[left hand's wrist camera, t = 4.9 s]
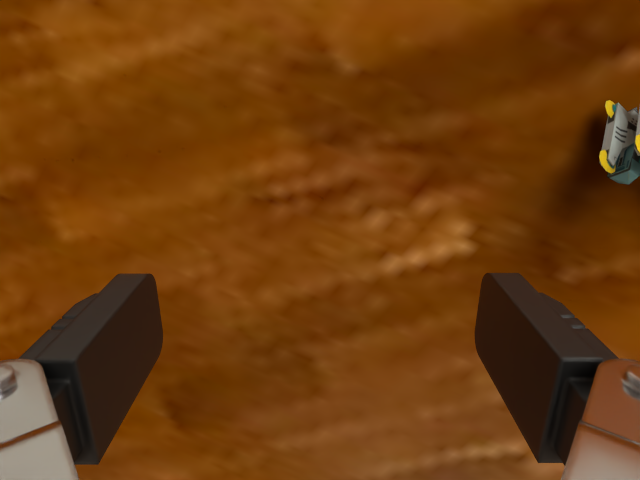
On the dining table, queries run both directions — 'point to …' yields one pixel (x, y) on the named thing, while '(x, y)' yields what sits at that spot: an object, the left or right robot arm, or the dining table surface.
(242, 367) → the dining table surface
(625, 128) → the figurine
